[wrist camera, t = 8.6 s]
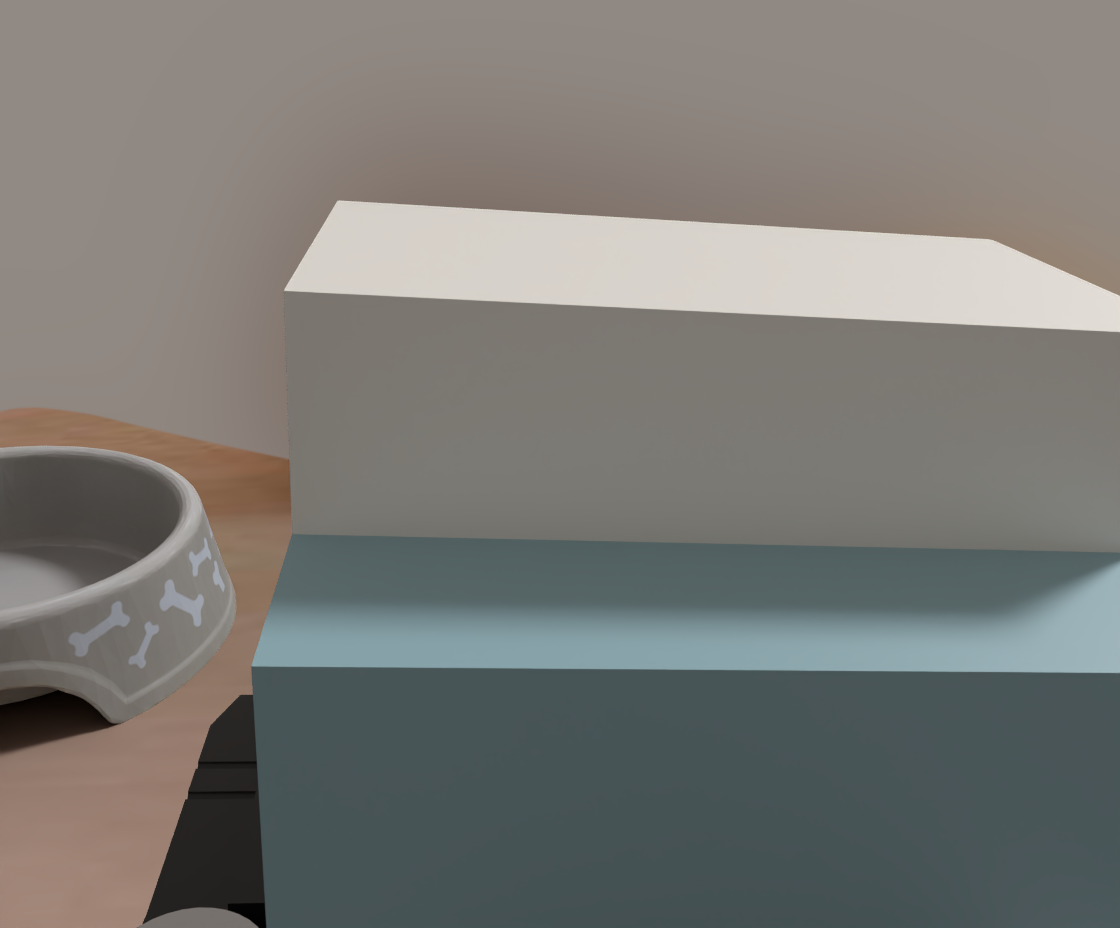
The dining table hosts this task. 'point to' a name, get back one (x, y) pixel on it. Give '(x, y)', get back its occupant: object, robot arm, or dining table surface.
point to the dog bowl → (105, 579)
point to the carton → (691, 580)
